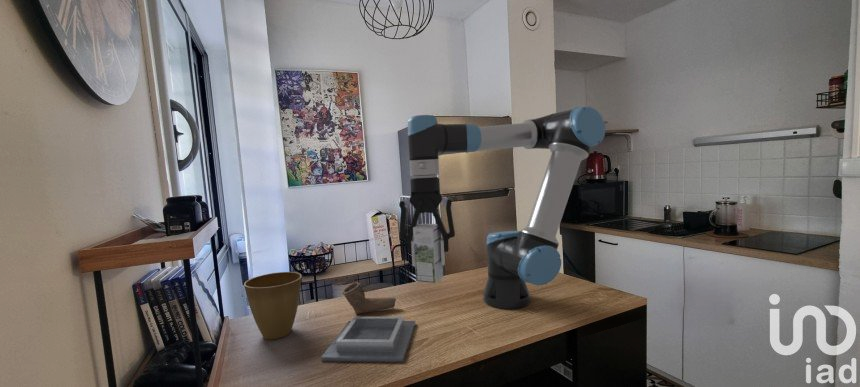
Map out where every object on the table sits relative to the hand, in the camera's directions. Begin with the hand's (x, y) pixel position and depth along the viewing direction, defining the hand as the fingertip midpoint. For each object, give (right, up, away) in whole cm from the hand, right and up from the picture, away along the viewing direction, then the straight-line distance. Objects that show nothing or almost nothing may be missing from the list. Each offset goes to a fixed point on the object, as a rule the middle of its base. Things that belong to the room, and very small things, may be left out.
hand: (428, 264), depth 92 cm
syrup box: (0, -4, 0) cm, 4 cm away
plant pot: (-43, -22, +8) cm, 49 cm away
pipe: (-19, -20, +20) cm, 34 cm away
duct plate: (-15, -21, +1) cm, 26 cm away
